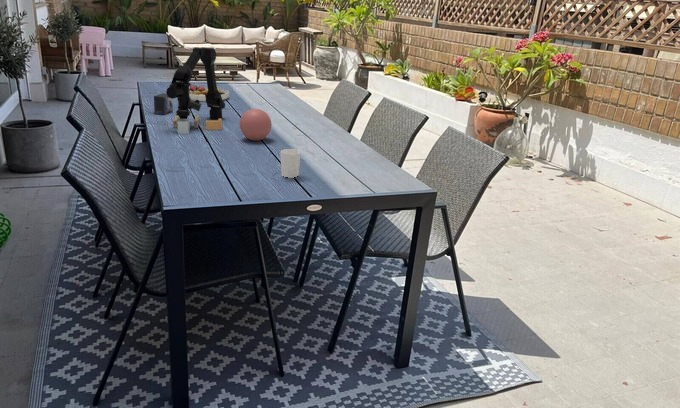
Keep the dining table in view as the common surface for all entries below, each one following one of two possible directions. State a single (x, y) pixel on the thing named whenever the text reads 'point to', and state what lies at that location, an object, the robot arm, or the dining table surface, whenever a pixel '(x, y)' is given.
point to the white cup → (290, 162)
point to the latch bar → (214, 125)
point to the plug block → (183, 126)
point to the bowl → (204, 93)
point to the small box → (162, 104)
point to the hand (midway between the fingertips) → (185, 126)
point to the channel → (194, 121)
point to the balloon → (255, 124)
